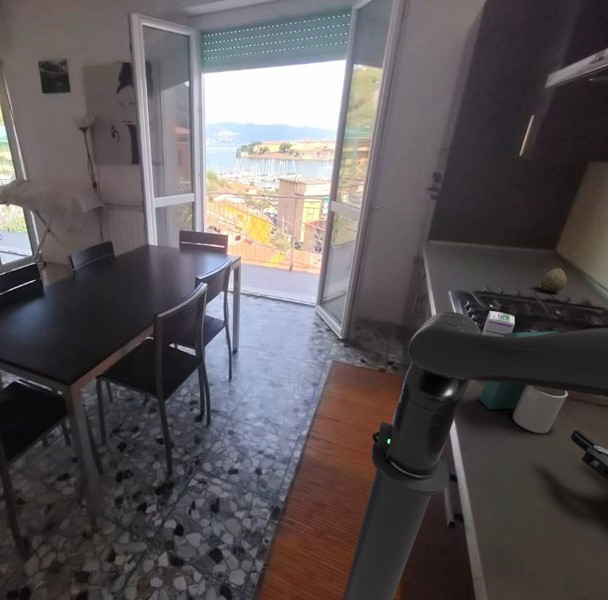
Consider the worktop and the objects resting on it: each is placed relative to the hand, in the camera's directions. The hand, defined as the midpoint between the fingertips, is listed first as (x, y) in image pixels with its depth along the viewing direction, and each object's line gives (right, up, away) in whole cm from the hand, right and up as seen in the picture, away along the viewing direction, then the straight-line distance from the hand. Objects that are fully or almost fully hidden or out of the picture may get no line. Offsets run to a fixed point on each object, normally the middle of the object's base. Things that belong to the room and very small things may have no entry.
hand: (596, 432), depth 67 cm
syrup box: (+6, +7, +35) cm, 36 cm away
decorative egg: (+64, +28, +76) cm, 103 cm away
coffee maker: (0, -1, +16) cm, 16 cm away
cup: (0, -3, +13) cm, 14 cm away
